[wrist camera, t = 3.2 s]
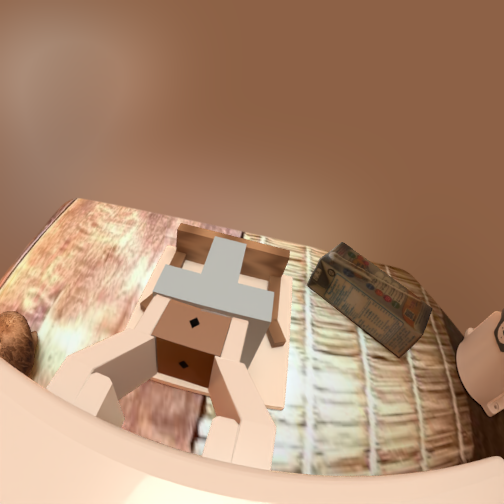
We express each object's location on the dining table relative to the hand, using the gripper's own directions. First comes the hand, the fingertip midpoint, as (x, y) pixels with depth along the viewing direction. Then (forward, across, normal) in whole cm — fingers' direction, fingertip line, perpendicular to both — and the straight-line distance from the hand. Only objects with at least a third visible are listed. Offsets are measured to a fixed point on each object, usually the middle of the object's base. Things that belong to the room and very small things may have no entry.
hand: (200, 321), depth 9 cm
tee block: (+15, +2, +19) cm, 24 cm away
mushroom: (+4, +22, +22) cm, 31 cm away
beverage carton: (+28, -19, +19) cm, 39 cm away
